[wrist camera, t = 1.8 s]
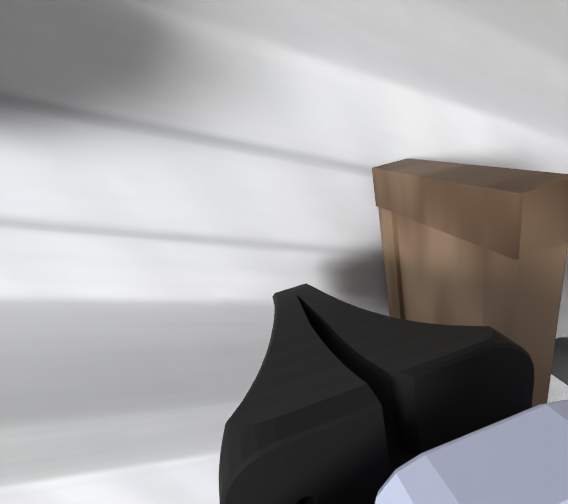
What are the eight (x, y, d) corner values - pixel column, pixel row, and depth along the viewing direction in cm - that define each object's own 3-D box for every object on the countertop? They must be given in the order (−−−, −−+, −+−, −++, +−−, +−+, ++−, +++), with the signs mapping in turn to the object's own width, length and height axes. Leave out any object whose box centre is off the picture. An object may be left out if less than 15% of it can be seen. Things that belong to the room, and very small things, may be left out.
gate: (424, 412, 19) (530, 544, 13) (399, 422, 18) (495, 561, 12) (407, 158, 13) (580, 175, 7) (372, 168, 13) (519, 193, 7)
